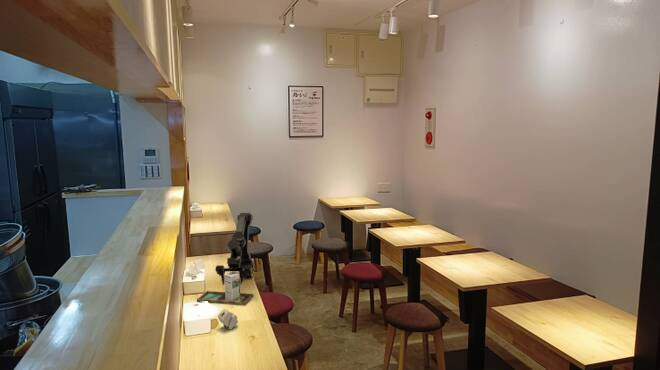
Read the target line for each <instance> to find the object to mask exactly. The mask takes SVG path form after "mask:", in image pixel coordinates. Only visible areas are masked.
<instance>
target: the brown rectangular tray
mask: <svg viewBox="0 0 660 370" xmlns="http://www.w3.org/2000/svg"><path fill="white" fill-rule="evenodd" d="M240 295H241V299H240V300H237V301H227V300H226V298H225V291H215V290H207V291H205V292H204V293H203V294H201V295H200V296H199V297H197V298H196V302H197V303H201V302H200V301H208V302H209V303H208V304H219V305H220V304H221V305H235V306H246V305H248V304H249V302H250V301H251V300H252V299H253V298H254V297H255V296H254V293H245V292H242V293H241V292H240ZM242 297H243V298H242Z"/></svg>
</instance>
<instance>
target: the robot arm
mask: <svg viewBox="0 0 660 370" xmlns="http://www.w3.org/2000/svg"><path fill="white" fill-rule="evenodd" d="M236 217H237V218H236V219H237V225H236V228H235V233H234V234H233V235H232V237H231V239H230V240H229V241H228V242H227V249H228V250H229V253H230V257H227V258H226V259H227V261H226V264H227V267H225V266H224V265H223V264H222V265H219V264H218V265H216V266H215V272H216V274H217V275H219V276H220V279H221V283H222V286H225V281H224V274H226V272H232V271H233V272H238V273H239V276H240V286H242V285H243V283H244V282H245V280H247V279H248V280H249V279H252V278H253V276H252V274H253V268H254V262H253V259H252V258H251V257H252V256H251V254H250V252H249V240H250V239H249V236H250V235H249V234H250V233H249V232H250V226H251V225H252V223H253V222H252V221H253V220H254V219H253V218H254V216H253V214H252V213H251V212H240V214H237V216H236Z"/></svg>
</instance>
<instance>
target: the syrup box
mask: <svg viewBox="0 0 660 370" xmlns="http://www.w3.org/2000/svg"><path fill="white" fill-rule="evenodd" d="M240 281H241V278H240V276H239V272H238V271H229V272H228V273H224V292H225V298H226V299H225V301H241V300H242V296H241V295H240V293H241V285H240Z"/></svg>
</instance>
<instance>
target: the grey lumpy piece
mask: <svg viewBox="0 0 660 370" xmlns="http://www.w3.org/2000/svg"><path fill="white" fill-rule="evenodd" d="M217 318H218V321H219V322H220V323H221V324H222V325H223V326H224V327H225V328H226V327H227V330H229V329H231V330H232V329H234V328H235V327H234V326H236V325H237V324H238V323H239V320H238V316H237V315H236V314H235V313H233V312H231V311H229V310H228V309H226V308H224V309H222V310H221V311H220V312H219V313H218V314H217ZM233 327H234V328H233Z"/></svg>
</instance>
